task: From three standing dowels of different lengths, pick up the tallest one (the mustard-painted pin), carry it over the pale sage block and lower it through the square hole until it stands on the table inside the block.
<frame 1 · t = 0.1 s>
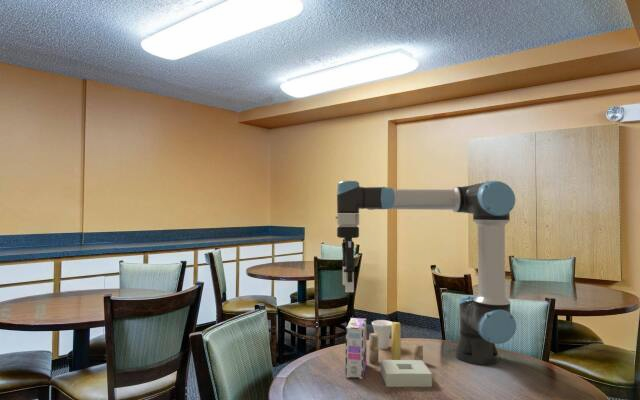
hand: (347, 288, 142), 28 cm above the table, fingers open, 13 cm apart
pin short: (418, 362, 149), on the table
pin long: (396, 362, 149), on the table
candy box: (356, 371, 141), on the table
socket block: (405, 379, 134), on the table
cup: (382, 347, 166), on the table
pin medium: (373, 362, 149), on the table
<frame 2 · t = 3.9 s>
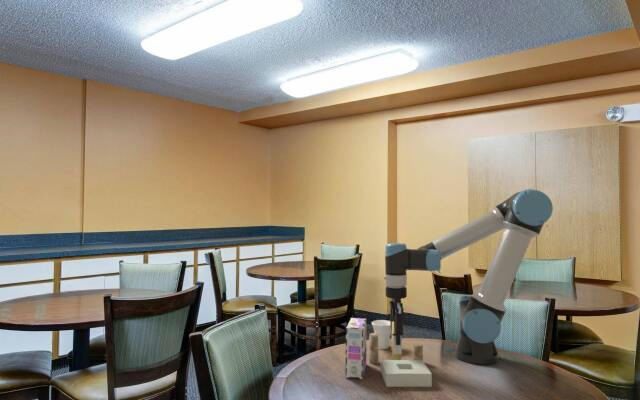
hand: (396, 351, 149), 4 cm above the table, fingers closed on pin long, 3 cm apart
pin long: (396, 361, 149), on the table, touching gripper
everything else where it was.
when the fingers open (5 cm above the table, at t = 8.2 s): pin long stays where it is, resting in socket block.
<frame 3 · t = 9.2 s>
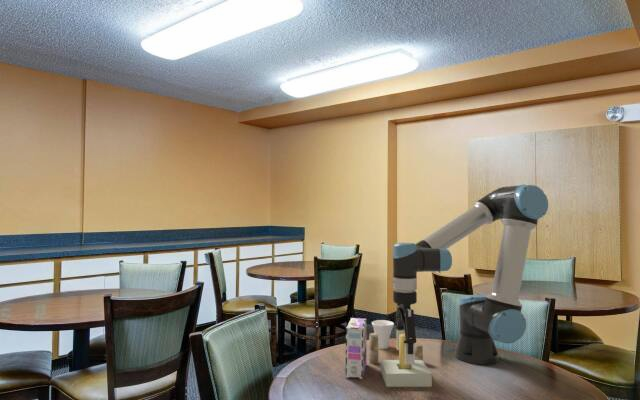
hand: (405, 356, 135), 7 cm above the table, fingers open, 13 cm apart
pin long: (404, 379, 134), resting in socket block
everything else where it was.
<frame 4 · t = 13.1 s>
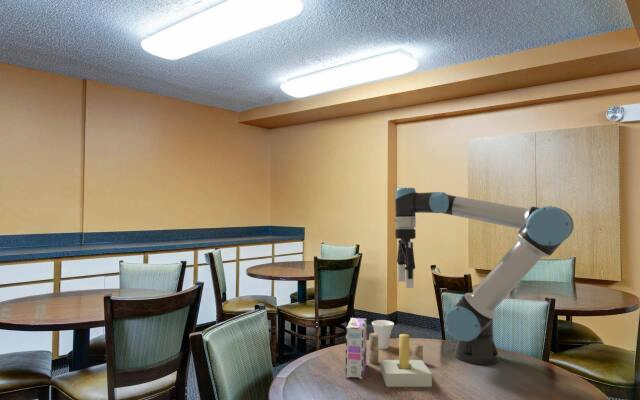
hand: (405, 284, 157), 27 cm above the table, fingers open, 13 cm apart
nothing on the table moved.
at the end: pin long 0.3 cm off-centre on the socket block, point 0.0 cm above the socket block's base; pin long tilted 0°; the gripper is holding nothing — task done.
